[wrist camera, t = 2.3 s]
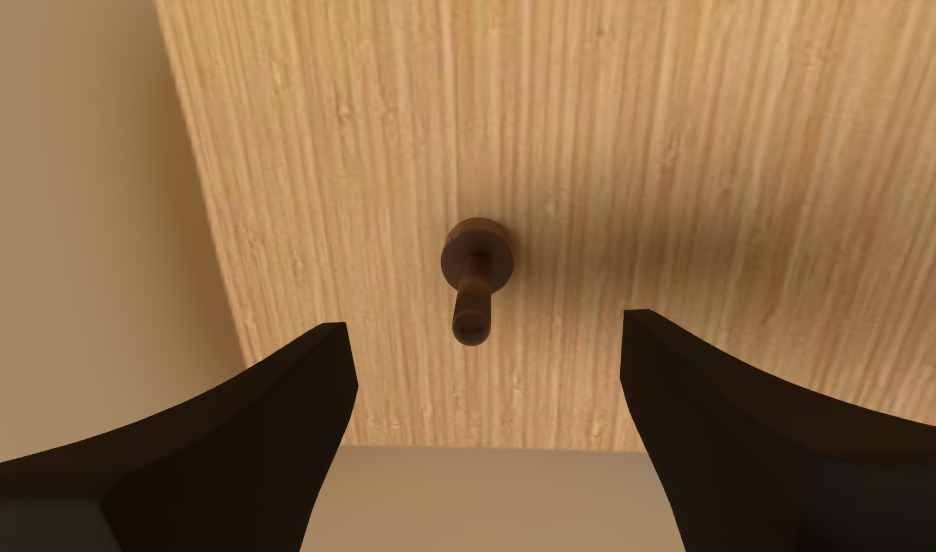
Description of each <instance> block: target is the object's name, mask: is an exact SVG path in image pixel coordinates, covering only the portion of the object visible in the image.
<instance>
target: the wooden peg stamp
mask: <svg viewBox="0 0 936 552" xmlns="http://www.w3.org/2000/svg"><path fill="white" fill-rule="evenodd" d="M513 266H514V260H513V251H512V243H511V240H510V238H509V236H508V234H507V232H506V231H505V230H504V229H503V228H502V227H501V226H500V225H498V224H497V223H495V222H493V221H491V220H488V219H483V218H473V219H468V220H465V221H463V222H461V223H459V224H458V225H456V226H455V227H454V228H453V229H452V230H451V232H450V233H449V235H448V236H447V239H446V242H445V245H444V248H443V252H442V256H441V268H442V272H443V275H444V277H445V279H446V280H447V282H448V283H449V284H450V285H451V286H452V287H453V288H454V289H456V290H457V291H458V293H457V299H456V305H455V311H454V317H453V323H452V330H453V334H454V336H455V338H456V339H457V340H458V341H459V342H460V343H462V344H464V345H466V346H476V345H479V344H481V343H483V342H484V341H485V340H486V339H487V338H488V336H489V334H490V330H491V294H492V293H494V292H496V291H498V290H499V289H501V288H502V287H503V286H504V285H505V284H506V283H507V282H508V280H509V279H510V276H511V274H512V271H513Z"/></svg>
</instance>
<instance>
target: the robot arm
mask: <svg viewBox="0 0 936 552" xmlns="http://www.w3.org/2000/svg"><path fill="white" fill-rule="evenodd" d="M620 381H621V384H622V388H623V391H624V395H625V399H626V402H627V405H628V408H629V412H630V414H631V416H632V419H633V421H634V423H635V425H636V428H637V430H638V432H639V435H640V437H641V439H642V441H643V443H644V446H645V448H646V450H647V452H648V454H649V457H650V459H651V461H652V463H653V465H654V468H655V470H656V472H657V474H658V476H659V479H660V481H661V483H662V485H663V488H664V490H665V493H666V495H667V498H668V500H669V502H670V505H671V508H672V511H673V514H674V517H675V520H676V523H677V526H678V529H679V532H680V535H681V538H682V541H683V544H684V547H685V551H686V552H936V426H932V425H927V424H923V423H919V422H914V421H911V420H907V419H903V418H899V417H896V416H892V415H888V414H884V413H881V412H877V411H873V410H870V409H867V408H863V407H860V406H857V405H853V404H850V403H847V402H844V401H841V400H838V399H835V398H832V397H829V396H826V395H823V394H820V393H817V392H814V391H811V390H809V389H806V388H803V387H801V386H798V385H795V384H793V383H790V382H788V381H786V380H783V379H781V378H778V377H776V376H774V375H771V374H769V373H767V372H764V371H762V370H760V369H758V368H755V367H753V366H751V365H749V364H747V363H745V362H743V361H741V360H739V359H737V358H735V357H733V356H731V355H729V354H727V353H725V352H723V351H722V350H720V349H718V348H716V347H714V346H712V345H711V344H709V343H707V342H705V341H704V340H702V339H700V338H698V337H697V336H695V335H693V334H692V333H690V332H688V331H687V330H685V329H683V328H682V327H680V326H678V325H677V324H675V323H673V322H672V321H670V320H668V319H667V318H665V317H663V316H662V315H660V314H658V313H656V312H654V311H652V310H650V309H637V310H624V319H623V335H622V350H621V366H620ZM357 391H358V381H357V376H356V371H355V366H354V361H353V356H352V351H351V346H350V341H349V336H348V331H347V326H346V322H334V323H322V324H320V325H318V326H316V327H314V328H313V329H311V330H309V331H307V332H306V333H304V334H303V335H301V336H300V337H298V338H296V339H295V340H293V341H292V342H290V343H289V344H287V345H285V346H284V347H282V348H281V349H279V350H278V351H276V352H275V353H273V354H271V355H270V356H268V357H267V358H265V359H263V360H262V361H260V362H258V363H257V364H255V365H253V366H252V367H250V368H248V369H247V370H245V371H243V372H242V373H240V374H238V375H237V376H235V377H233V378H231V379H229V380H228V381H226V382H224V383H222V384H220V385H218V386H216V387H214V388H213V389H210V390H208V391H206V392H204V393H202V394H200V395H198V396H196V397H194V398H192V399H190V400H188V401H185V402H183V403H181V404H179V405H176V406H174V407H171V408H169V409H166V410H164V411H162V412H159V413H157V414H154V415H152V416H149V417H147V418H145V419H142V420H140V421H137V422H134V423H132V424H129V425H126V426H123V427H120V428H118V429H115V430H112V431H109V432H106V433H103V434H100V435H97V436H94V437H91V438H88V439H85V440H81V441H79V442H75V443H72V444H68V445H65V446H61V447H57V448H54V449H50V450H47V451H43V452H39V453H36V454H32V455H28V456H24V457H21V458H17V459H13V460H9V461H5V462H1V463H0V552H299V551H300V548H301V545H302V542H303V538H304V535H305V532H306V528H307V525H308V522H309V519H310V516H311V512H312V509H313V507H314V504H315V501H316V499H317V496H318V493H319V491H320V489H321V486H322V484H323V482H324V479H325V477H326V475H327V472H328V470H329V468H330V465H331V463H332V461H333V458H334V456H335V454H336V452H337V449H338V447H339V445H340V442H341V440H342V437H343V435H344V433H345V430H346V428H347V425H348V423H349V420H350V417H351V414H352V410H353V407H354V403H355V399H356V395H357Z"/></svg>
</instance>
